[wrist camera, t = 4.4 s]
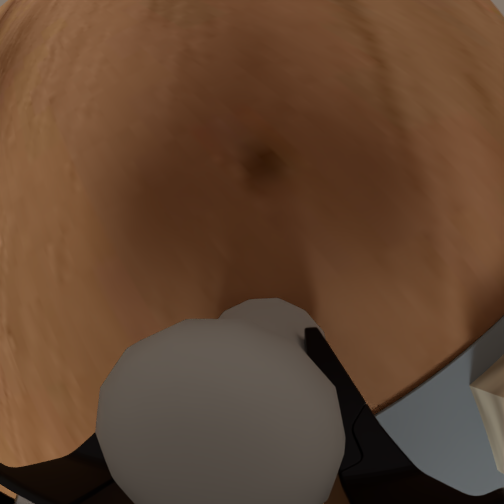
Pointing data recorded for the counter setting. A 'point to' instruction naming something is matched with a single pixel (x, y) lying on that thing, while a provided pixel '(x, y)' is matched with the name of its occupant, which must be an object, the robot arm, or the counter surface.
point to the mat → (450, 421)
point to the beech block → (492, 407)
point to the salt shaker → (223, 412)
